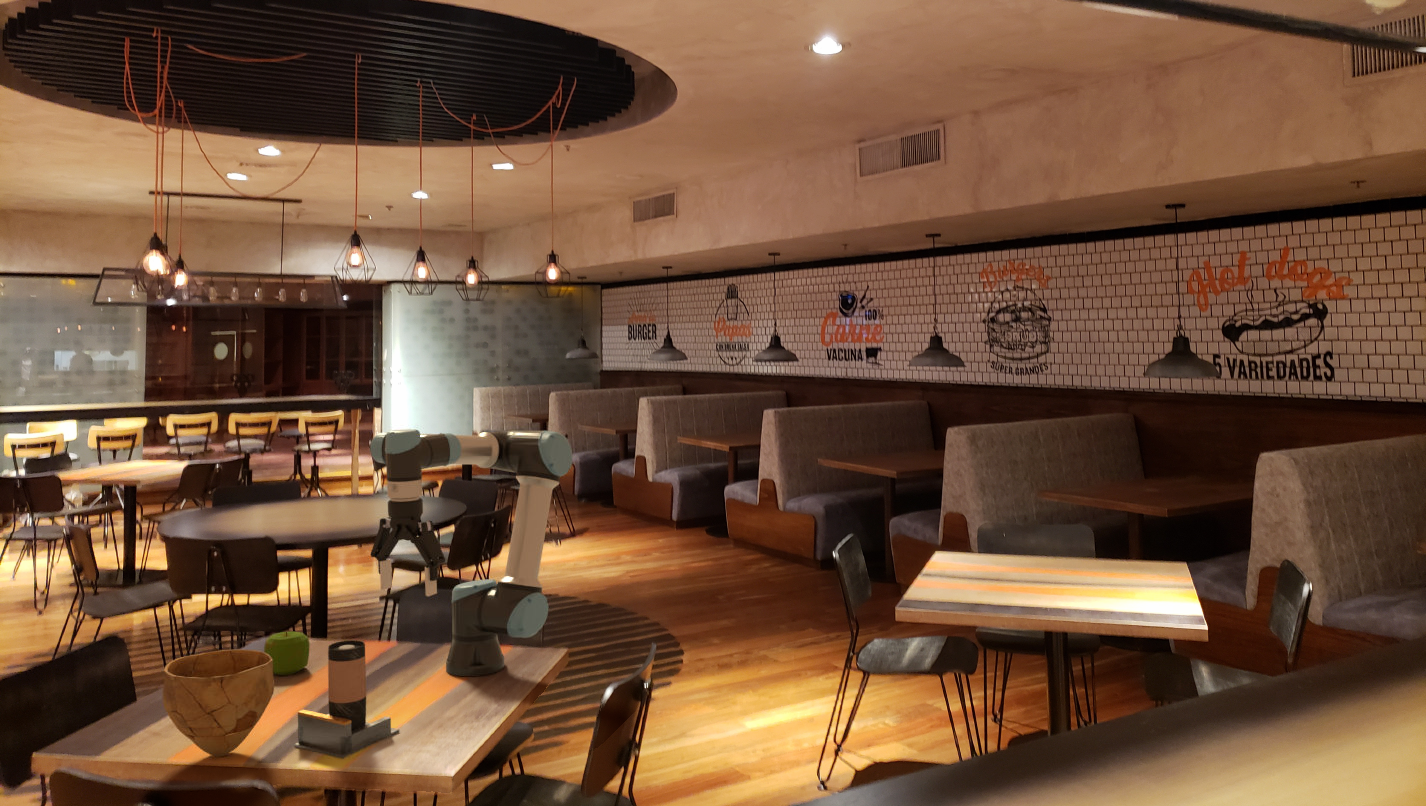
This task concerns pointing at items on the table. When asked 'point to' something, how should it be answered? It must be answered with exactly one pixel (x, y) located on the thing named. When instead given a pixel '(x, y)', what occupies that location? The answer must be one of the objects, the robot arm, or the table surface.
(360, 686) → the travel mug
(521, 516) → the robot arm
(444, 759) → the table surface
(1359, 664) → the table surface
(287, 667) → the apple
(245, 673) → the bowl
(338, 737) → the grey holder
